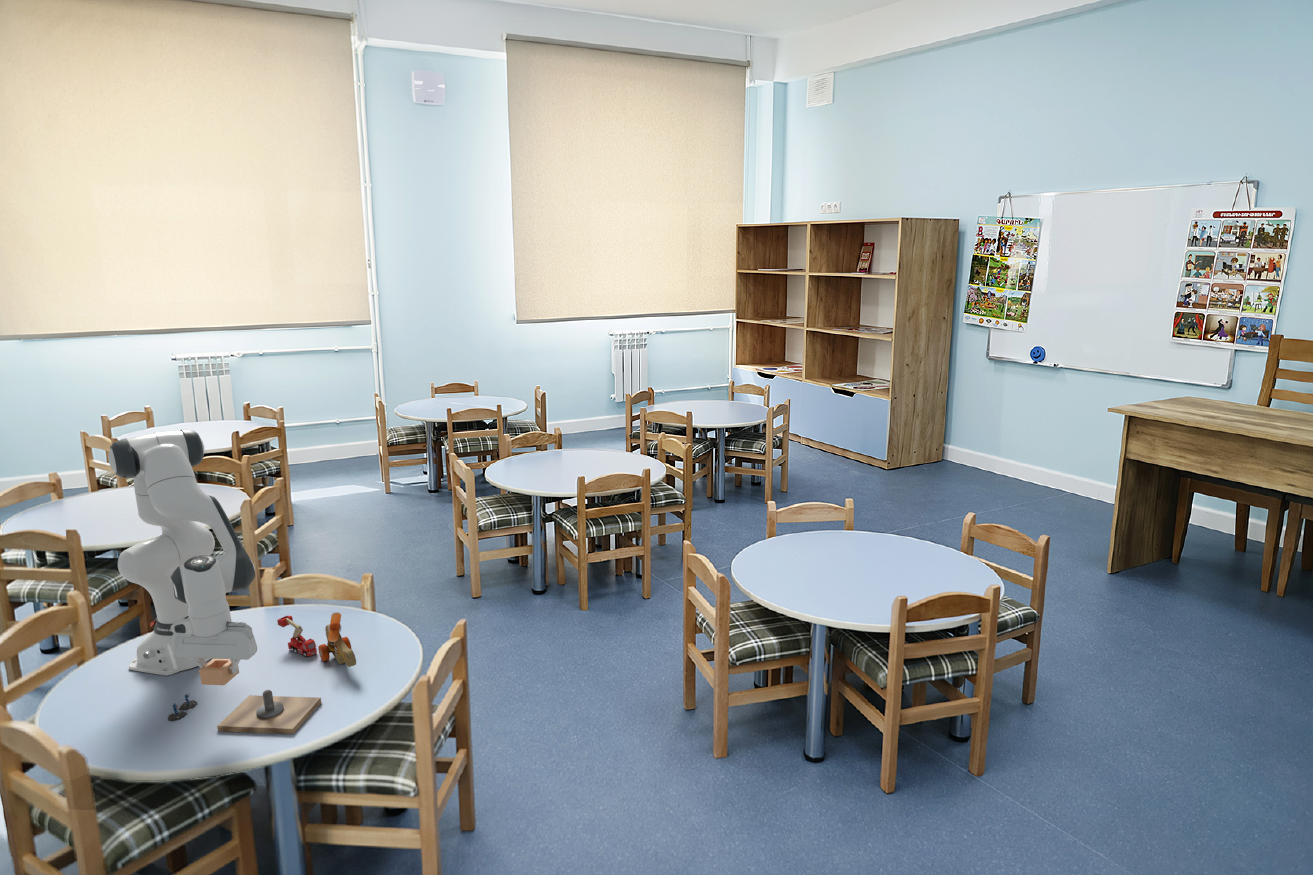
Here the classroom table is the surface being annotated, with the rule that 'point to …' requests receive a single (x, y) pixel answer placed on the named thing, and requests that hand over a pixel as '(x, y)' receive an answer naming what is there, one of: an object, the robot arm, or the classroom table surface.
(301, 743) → the classroom table surface
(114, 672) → the classroom table surface
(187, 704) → the figurines
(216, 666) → the square frame block
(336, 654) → the toy helicopter
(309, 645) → the toy fire truck
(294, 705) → the stand
